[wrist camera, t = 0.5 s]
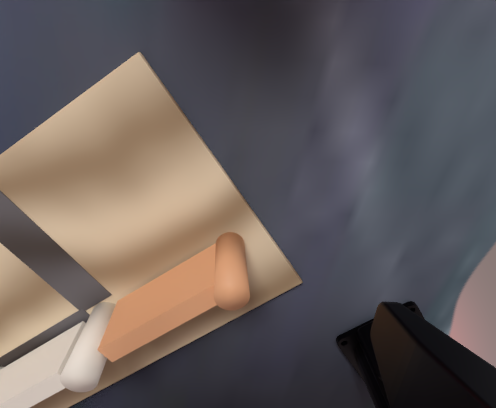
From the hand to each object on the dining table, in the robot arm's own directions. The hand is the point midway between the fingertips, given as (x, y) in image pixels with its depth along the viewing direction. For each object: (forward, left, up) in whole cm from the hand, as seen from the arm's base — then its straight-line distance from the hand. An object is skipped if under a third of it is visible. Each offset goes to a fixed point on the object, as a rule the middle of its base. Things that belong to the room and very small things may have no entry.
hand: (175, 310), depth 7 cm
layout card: (-3, +12, -13) cm, 18 cm away
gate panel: (-6, +6, -12) cm, 15 cm away
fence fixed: (-6, +17, -13) cm, 22 cm away
